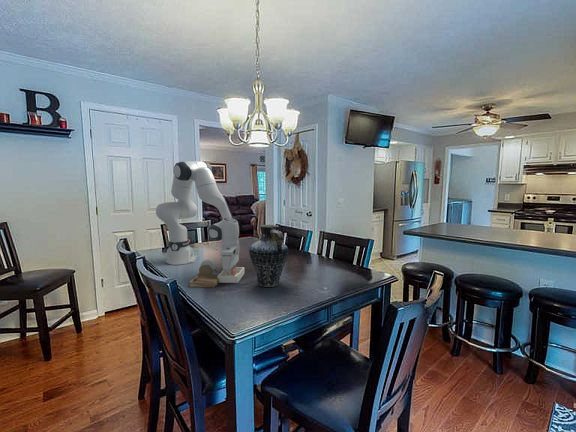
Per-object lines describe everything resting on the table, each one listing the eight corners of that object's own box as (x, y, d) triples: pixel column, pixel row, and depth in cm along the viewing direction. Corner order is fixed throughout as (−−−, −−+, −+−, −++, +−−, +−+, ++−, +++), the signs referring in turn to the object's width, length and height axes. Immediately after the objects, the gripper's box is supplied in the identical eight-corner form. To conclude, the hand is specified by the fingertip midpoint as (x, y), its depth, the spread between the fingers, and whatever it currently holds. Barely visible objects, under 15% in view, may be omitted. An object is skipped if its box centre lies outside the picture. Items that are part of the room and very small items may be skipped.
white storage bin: (226, 272, 169) (226, 267, 169) (244, 273, 169) (244, 267, 168) (217, 282, 153) (217, 275, 153) (237, 283, 152) (237, 276, 152)
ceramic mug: (198, 277, 161) (198, 263, 160) (200, 273, 169) (200, 260, 168) (218, 277, 163) (218, 263, 162) (219, 272, 171) (219, 259, 170)
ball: (228, 275, 163) (228, 266, 163) (237, 275, 163) (237, 266, 162) (225, 278, 158) (225, 268, 158) (235, 278, 158) (234, 269, 158)
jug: (242, 284, 151) (240, 225, 148) (270, 275, 164) (270, 221, 161) (268, 294, 136) (268, 229, 133) (298, 284, 150) (298, 225, 146)
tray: (198, 278, 160) (198, 274, 159) (222, 279, 159) (222, 275, 158) (188, 286, 147) (188, 282, 146) (214, 287, 146) (214, 283, 146)
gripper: (230, 244, 170) (230, 268, 171) (219, 252, 149) (220, 279, 151) (241, 244, 169) (241, 268, 171) (231, 253, 149) (232, 279, 150)
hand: (231, 273), depth 161 cm, fingers open, 6 cm apart
